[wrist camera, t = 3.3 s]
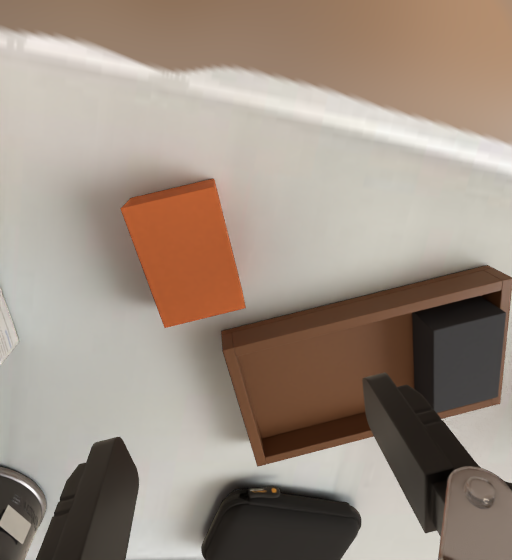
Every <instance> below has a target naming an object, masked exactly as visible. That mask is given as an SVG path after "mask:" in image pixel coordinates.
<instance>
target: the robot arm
mask: <svg viewBox="0 0 512 560" xmlns="http://www.w3.org/2000/svg"><path fill="white" fill-rule="evenodd" d="M362 382H363V393H364V403H365V413H366V418H367V421H368V424H369V427H370V429H371V431H372V433H373V435H374V437H375V439H376V441H377V443H378V445H379V447H380V449H381V450H382V452H383V454H384V456H385V458H386V460H387V462H388V464H389V466H390V468H391V469H392V471H393V473H394V475H395V477H396V479H397V481H398V483H399V485H400V486H401V488H402V490H403V492H404V494H405V496H406V498H407V500H408V502H409V504H410V505H411V507H412V509H413V511H414V513H415V515H416V517H417V519H418V521H419V523H420V524H421V526H422V528H423V530H424V532H425V533H428V532H432V531H436V530H437V531H438V533H439V535H440V536H441V540H440V548H439V556H438V560H512V483H508V482H505V481H503V480H502V479H501V478H499V477H498V476H497V475H495V474H494V473H492V472H490V471H488V470H485V469H482V468H481V467H479V466H478V465H477V463H476V462H475V461H474V460H473V459H472V457H471V456H470V455H469V453H468V452H467V451H466V450H465V448H464V447H463V446H462V445H461V443H460V442H459V441H458V439H457V438H456V437H455V436H454V434H453V433H452V432H451V430H450V429H449V428H448V427H447V425H446V424H445V423H444V422H443V421H442V420H441V418H440V416H439V415H438V414H437V413H436V411H435V410H433V409H432V406H431V405H430V404H429V402H428V401H427V400H426V399H425V397H424V396H423V395H422V394H421V393H419V392H418V391H416V390H415V389H413V388H412V387H410V386H409V385H403V386H399V387H397V386H396V385H395V383H394V382H393V381H392V379H391V378H390V376H389V375H388V374H387V373H381V374H376V375H372V376H368V377H364V378H363V381H362ZM138 488H139V477H138V472H137V468H136V466H135V464H134V462H133V460H132V458H131V456H130V454H129V452H128V450H127V448H126V446H125V444H124V442H123V440H122V439H121V438H120V437H116V438H112V439H108V440H104V441H100V442H96V443H94V444H93V446H92V448H91V451H90V454H89V456H88V459H87V462H86V463H83V464H79V465H78V466H77V468H76V469H75V470H74V472H73V473H72V475H71V476H70V477H69V479H68V480H67V481H66V484H65V486H64V489H63V492H62V494H61V497H60V502H58V504H57V507H56V510H55V512H54V517H52V520H51V522H50V525H49V528H48V530H47V533H46V535H45V538H44V540H43V543H42V546H41V548H40V551H39V553H38V556H37V558H36V560H125V559H126V553H127V548H128V542H129V537H130V532H131V526H132V521H133V516H134V510H135V505H136V500H137V494H138ZM45 512H46V499H45V496H44V494H43V492H42V490H41V489H40V488H39V487H38V486H37V485H36V483H34V482H33V481H32V480H31V479H29V478H28V477H26V476H24V475H22V474H20V473H18V472H16V471H13V470H10V469H7V468H3V467H0V560H25V557H26V555H27V553H28V550H29V548H30V545H31V543H32V540H33V538H34V536H35V533H36V531H37V528H38V527H39V525H40V524H41V522H42V520H43V517H44V515H45Z"/></svg>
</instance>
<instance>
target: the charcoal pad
mask: <svg viewBox="0 0 512 560" xmlns="http://www.w3.org/2000/svg"><path fill="white" fill-rule="evenodd" d="M505 319H506V312H504V311H503V310H501V309H500V308H498V307H497V306H495V305H494V304H492V303H490V302H489V301H487V300H486V299H484V298H483V297H481V296H476V297H472V298H468V299H464V300H460V301H456V302H452V303H448V304H444V305H440V306H436V307H432V308H428V309H424V310H420V311H416V312H412V320H413V354H414V388H415V390H416V391H418V392H419V393H421V394H422V395H423V396H424V397H425V399H426V400H427V401H428V402H429V404H430V405H431V406H432V409H433V410H435V411H436V413H438V412H442V411H446V410H450V409H454V408H458V407H461V406H465V405H469V404H473V403H477V402H481V401H485V400H488V399H492V398H496V397H498V391H499V381H500V371H501V360H502V350H503V340H504V330H505Z"/></svg>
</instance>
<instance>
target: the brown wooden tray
mask: <svg viewBox="0 0 512 560" xmlns="http://www.w3.org/2000/svg"><path fill="white" fill-rule="evenodd" d="M511 291H512V277H510V276H508V275H506V274H504V273H502V272H500V271H498V270H496V269H494V268H492V267H490V266H488V265H486V266H482V267H478V268H474V269H470V270H466V271H462V272H458V273H454V274H450V275H446V276H442V277H438V278H434V279H430V280H426V281H422V282H418V283H414V284H409V285H405V286H401V287H397V288H393V289H389V290H385V291H381V292H377V293H373V294H369V295H365V296H361V297H357V298H353V299H349V300H345V301H341V302H337V303H333V304H329V305H325V306H321V307H317V308H313V309H309V310H305V311H301V312H296V313H292V314H288V315H284V316H280V317H276V318H272V319H268V320H264V321H260V322H256V323H252V324H248V325H244V326H240V327H236V328H232V329H228V330H224V331H221V334H222V349H223V354H224V357H225V360H226V364H227V367H228V370H229V374H230V377H231V380H232V384H233V387H234V390H235V393H236V397H237V400H238V403H239V407H240V410H241V413H242V417H243V420H244V423H245V427H246V430H247V433H248V437H249V440H250V443H251V447H252V450H253V453H254V457H255V460H256V463H257V466H261V465H265V464H269V463H273V462H277V461H281V460H284V459H288V458H292V457H296V456H300V455H304V454H308V453H311V452H315V451H319V450H323V449H327V448H331V447H335V446H338V445H342V444H346V443H350V442H354V441H358V440H362V439H365V438H369V437H373V436H374V435H373V433H372V431H371V429H370V427H369V424H368V421H367V418H366V413H365V403H364V393H363V382H362V381H363V378H364V377H368V376H372V375H376V374H381V373H387V374H388V375H389V376H390V378H391V379H392V381H393V382H394V383H395V385H396V386H397V387H399V386H403V385H409V386H410V387H412V388H413V389H415V388H414V354H413V320H412V312H416V311H420V310H424V309H428V308H432V307H436V306H440V305H444V304H448V303H452V302H456V301H460V300H464V299H468V298H472V297H476V296H481V297H483V298H484V299H486V300H487V301H489V302H490V303H492V304H494V305H495V306H497V307H498V308H500V309H501V310H503V311H504V312H506V319H505V330H504V340H503V350H502V360H501V371H500V381H499V391H498V397H496V398H492V399H488V400H485V401H481V402H477V403H473V404H469V405H465V406H461V407H458V408H454V409H450V410H446V411H442V412H438V413H437V414H438V415H439V416H440V418H441V419H442V418H446V417H450V416H454V415H458V414H462V413H466V412H469V411H473V410H477V409H481V408H485V407H489V406H493V405H496V404H500V400H501V390H502V380H503V370H504V360H505V351H506V341H507V331H508V321H509V311H510V301H511Z"/></svg>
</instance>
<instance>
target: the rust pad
mask: <svg viewBox="0 0 512 560" xmlns="http://www.w3.org/2000/svg"><path fill="white" fill-rule="evenodd" d="M121 211H122V214H123V217H124V219H125V222H126V225H127V228H128V230H129V233H130V236H131V238H132V241H133V244H134V246H135V249H136V252H137V254H138V257H139V260H140V263H141V265H142V268H143V271H144V273H145V276H146V279H147V281H148V284H149V287H150V289H151V292H152V295H153V298H154V300H155V303H156V306H157V308H158V311H159V314H160V316H161V319H162V322H163V324H164V327H165V328H167V327H171V326H175V325H179V324H183V323H187V322H191V321H195V320H199V319H203V318H207V317H211V316H215V315H219V314H223V313H227V312H231V311H236V310H240V309H244V308H246V306H245V302H244V297H243V292H242V288H241V284H240V280H239V276H238V272H237V268H236V264H235V260H234V256H233V252H232V248H231V244H230V240H229V236H228V232H227V228H226V224H225V220H224V216H223V212H222V208H221V204H220V200H219V196H218V192H217V188H216V184H215V180H214V179H210V180H205V181H201V182H197V183H193V184H188V185H184V186H180V187H176V188H171V189H167V190H163V191H159V192H154V193H150V194H146V195H142V196H137V197H133V198H130V199H129V200H128V202H127V203H126V204H125V205H124V206H123V207H122V208H121Z"/></svg>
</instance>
